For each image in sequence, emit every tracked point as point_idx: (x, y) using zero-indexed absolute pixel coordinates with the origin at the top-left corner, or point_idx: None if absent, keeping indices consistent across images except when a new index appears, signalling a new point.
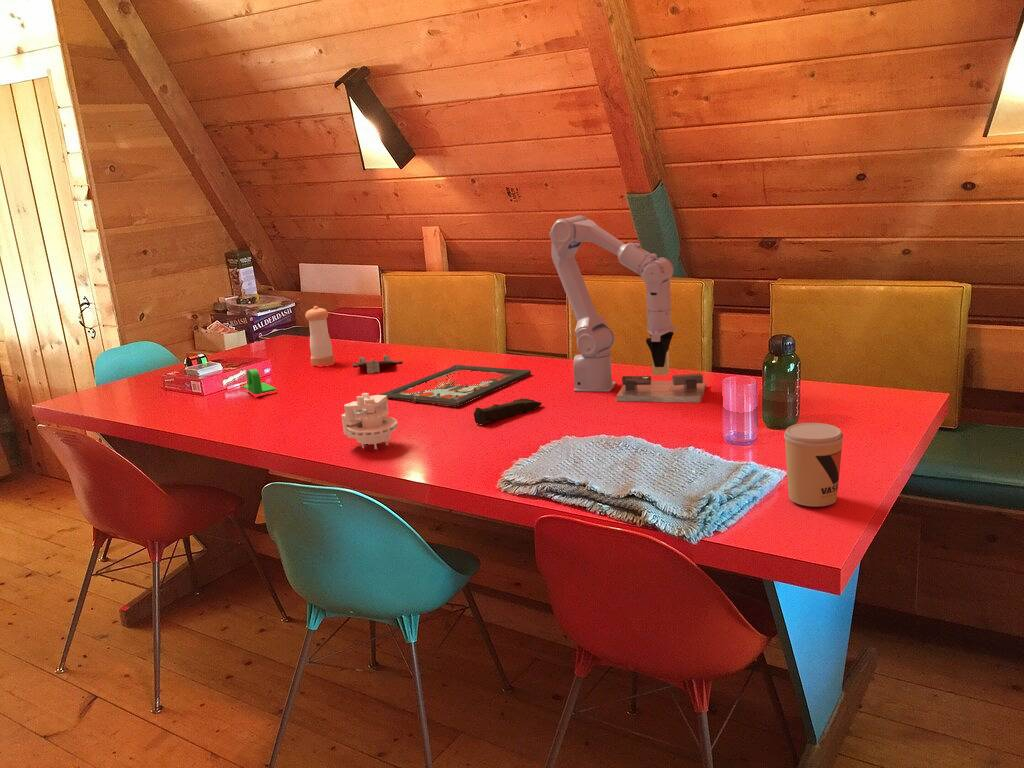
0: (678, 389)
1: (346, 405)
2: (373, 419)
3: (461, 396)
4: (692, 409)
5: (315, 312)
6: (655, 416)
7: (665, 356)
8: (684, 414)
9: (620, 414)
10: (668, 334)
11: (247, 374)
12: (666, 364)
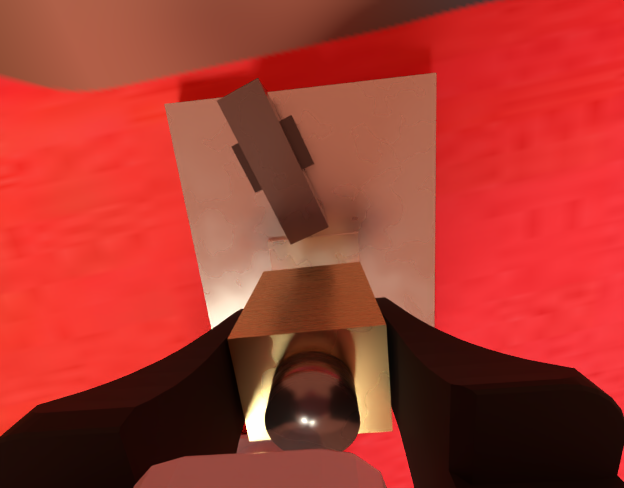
0: (324, 200)
1: None
2: None
3: None
4: (524, 95)
5: None
6: (612, 221)
7: (387, 319)
8: (595, 114)
9: (575, 341)
10: (142, 471)
11: None
12: (370, 287)
